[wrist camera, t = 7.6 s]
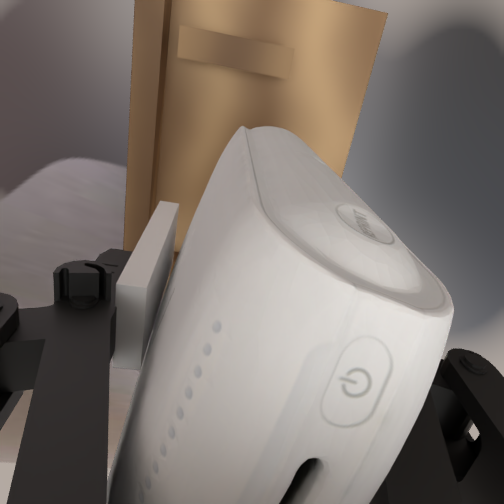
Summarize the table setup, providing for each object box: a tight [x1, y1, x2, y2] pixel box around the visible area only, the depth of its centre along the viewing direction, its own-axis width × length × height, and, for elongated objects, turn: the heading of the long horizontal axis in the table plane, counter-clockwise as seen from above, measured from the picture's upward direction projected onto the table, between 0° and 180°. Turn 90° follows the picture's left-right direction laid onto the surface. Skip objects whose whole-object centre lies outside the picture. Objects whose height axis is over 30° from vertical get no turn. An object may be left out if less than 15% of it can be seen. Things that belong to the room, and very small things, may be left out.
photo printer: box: [107, 126, 454, 504], centre depth 11 cm, size 10×4×12 cm, turn 156°
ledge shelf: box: [123, 0, 388, 298], centre depth 26 cm, size 14×22×5 cm, turn 170°
